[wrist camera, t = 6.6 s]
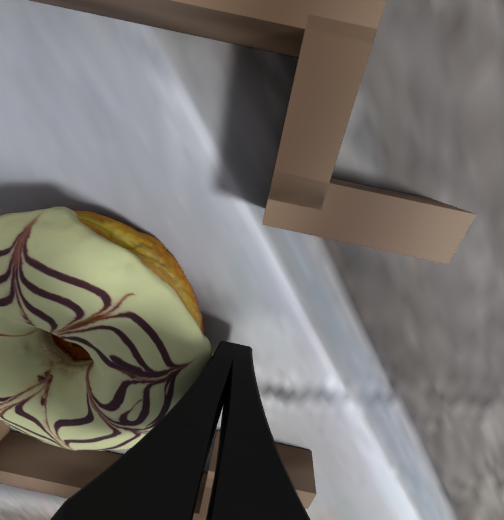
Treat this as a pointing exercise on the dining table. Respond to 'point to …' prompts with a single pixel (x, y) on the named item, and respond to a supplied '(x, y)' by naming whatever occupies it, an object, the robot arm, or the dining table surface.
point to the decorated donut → (92, 329)
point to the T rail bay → (275, 182)
